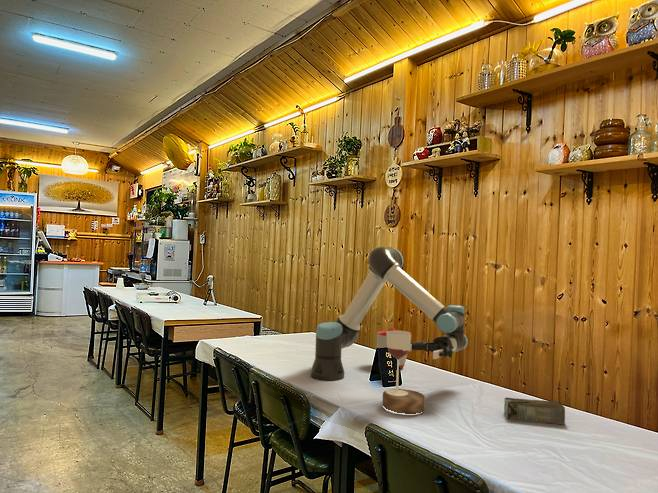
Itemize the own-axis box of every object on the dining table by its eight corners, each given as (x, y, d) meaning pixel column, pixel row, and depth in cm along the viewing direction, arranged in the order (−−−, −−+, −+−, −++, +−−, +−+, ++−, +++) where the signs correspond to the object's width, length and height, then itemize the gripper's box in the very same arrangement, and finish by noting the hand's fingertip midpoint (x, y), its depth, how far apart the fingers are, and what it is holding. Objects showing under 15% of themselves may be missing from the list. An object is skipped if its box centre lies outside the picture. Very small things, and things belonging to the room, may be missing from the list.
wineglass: (413, 392, 180) (415, 332, 180) (401, 397, 173) (403, 335, 173) (392, 387, 186) (394, 329, 186) (380, 392, 178) (381, 332, 178)
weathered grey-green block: (503, 412, 177) (503, 394, 177) (559, 418, 173) (560, 400, 173) (506, 420, 169) (507, 401, 169) (566, 426, 165) (566, 406, 165)
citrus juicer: (398, 374, 227) (399, 331, 228) (368, 367, 239) (370, 326, 239) (416, 369, 239) (417, 328, 239) (387, 362, 251) (388, 323, 251)
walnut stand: (389, 416, 168) (389, 401, 168) (377, 402, 183) (377, 389, 183) (430, 415, 170) (431, 401, 170) (415, 402, 185) (416, 388, 185)
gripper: (472, 359, 192) (447, 368, 175) (417, 349, 208) (389, 356, 192) (473, 340, 192) (448, 347, 175) (417, 332, 208) (390, 337, 192)
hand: (417, 352), depth 184 cm, fingers open, 13 cm apart
